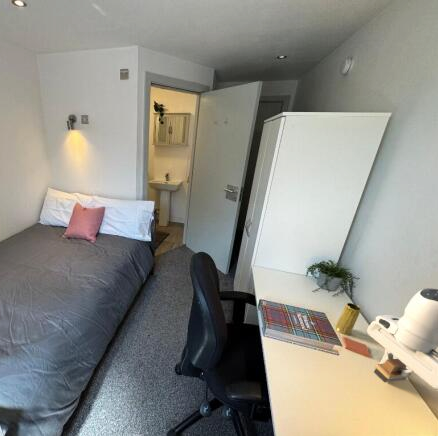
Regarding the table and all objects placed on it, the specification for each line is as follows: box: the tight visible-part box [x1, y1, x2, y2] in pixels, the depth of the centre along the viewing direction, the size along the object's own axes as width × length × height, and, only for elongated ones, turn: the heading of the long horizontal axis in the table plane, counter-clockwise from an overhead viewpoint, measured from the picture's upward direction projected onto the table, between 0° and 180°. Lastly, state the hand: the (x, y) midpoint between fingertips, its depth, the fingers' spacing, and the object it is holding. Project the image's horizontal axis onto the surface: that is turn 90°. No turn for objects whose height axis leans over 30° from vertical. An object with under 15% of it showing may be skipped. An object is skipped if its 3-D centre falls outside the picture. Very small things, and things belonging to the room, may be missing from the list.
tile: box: [342, 336, 371, 358], centre depth 101 cm, size 8×6×1 cm
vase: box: [334, 302, 362, 336], centre depth 108 cm, size 6×6×14 cm
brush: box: [373, 359, 412, 383], centre depth 75 cm, size 8×4×6 cm, turn 97°
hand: (395, 368), depth 75 cm, fingers closed on brush, 2 cm apart
